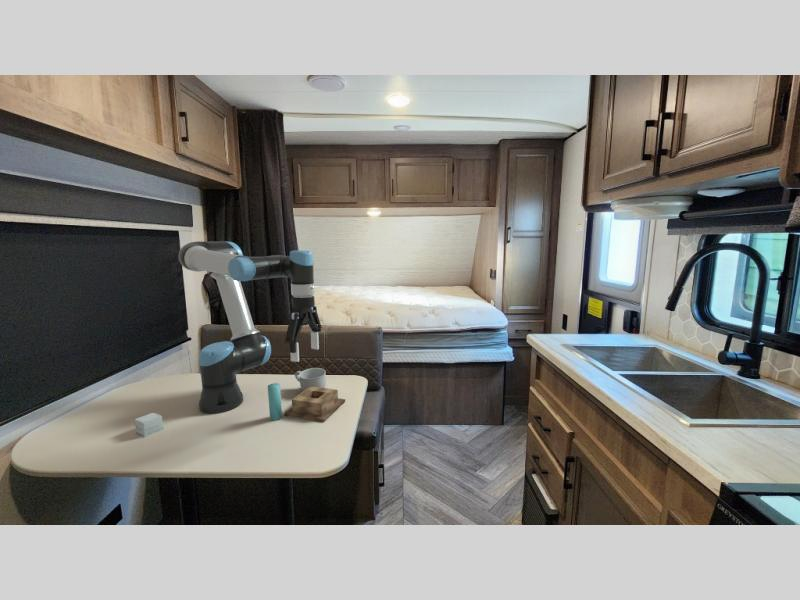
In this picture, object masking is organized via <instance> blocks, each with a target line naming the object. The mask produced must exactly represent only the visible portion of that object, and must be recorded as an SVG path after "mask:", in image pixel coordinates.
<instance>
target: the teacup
mask: <svg viewBox="0 0 800 600" xmlns="http://www.w3.org/2000/svg"><path fill="white" fill-rule="evenodd" d="M294 376H295V377H294V378H295V379H296V381H298V382H299V385H300V388H301V390H302V392H303V391H304V390H306V389H307V388H308V387H310V386H312V387H320V388H325V386H326V385H327V376H326V370H325V369H324V368H320V367H311V368H307V369H305V370H302V371H301V370H298V371H296V372H295V373H294Z"/></svg>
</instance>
